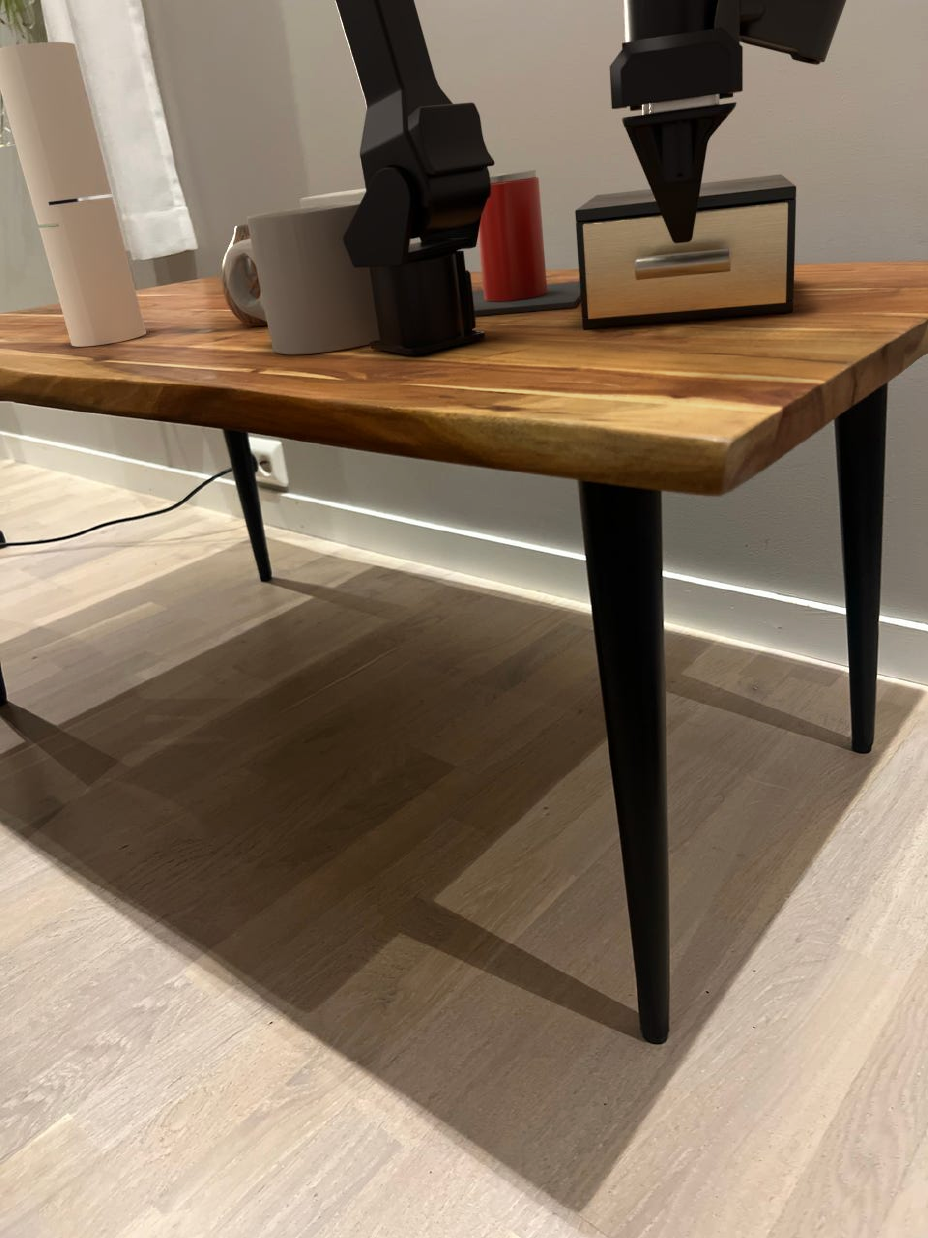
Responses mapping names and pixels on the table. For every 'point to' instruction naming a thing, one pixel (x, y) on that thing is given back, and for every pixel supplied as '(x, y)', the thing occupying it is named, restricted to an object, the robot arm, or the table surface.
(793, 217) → the cabinet
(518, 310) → the mat
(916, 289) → the table surface
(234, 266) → the coffee mug
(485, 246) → the can
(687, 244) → the drawer
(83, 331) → the cylindrical container
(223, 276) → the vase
